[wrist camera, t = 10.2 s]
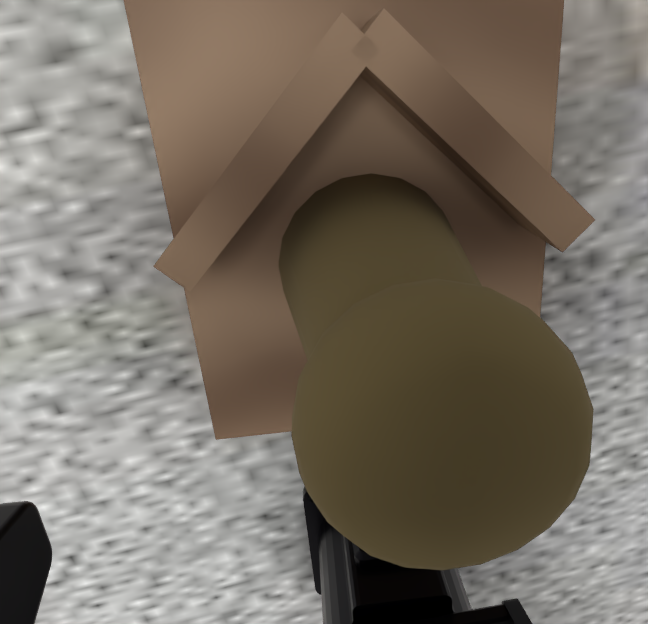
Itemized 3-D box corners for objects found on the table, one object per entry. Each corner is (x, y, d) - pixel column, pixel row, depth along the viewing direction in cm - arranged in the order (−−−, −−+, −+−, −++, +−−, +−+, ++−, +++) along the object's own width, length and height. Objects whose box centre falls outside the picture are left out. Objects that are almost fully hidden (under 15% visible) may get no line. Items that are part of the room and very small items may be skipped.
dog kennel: (518, 384, 22) (570, 453, 18) (220, 417, 22) (204, 494, 18) (544, -40, 16) (631, -82, 12) (136, -1, 16) (83, -29, 12)
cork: (464, 173, 17) (715, 302, 7) (446, 342, 20) (613, 619, 9) (276, 173, 17) (254, 308, 7) (280, 345, 19) (269, 636, 9)
